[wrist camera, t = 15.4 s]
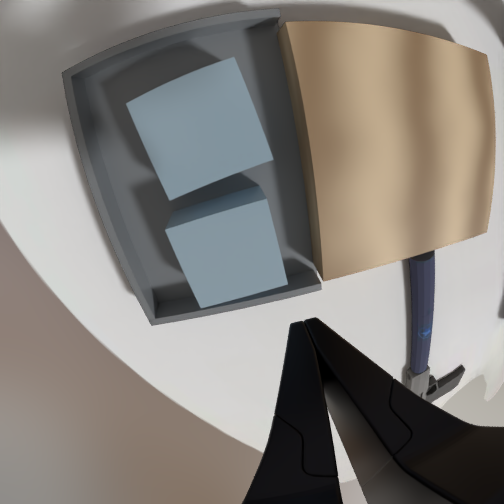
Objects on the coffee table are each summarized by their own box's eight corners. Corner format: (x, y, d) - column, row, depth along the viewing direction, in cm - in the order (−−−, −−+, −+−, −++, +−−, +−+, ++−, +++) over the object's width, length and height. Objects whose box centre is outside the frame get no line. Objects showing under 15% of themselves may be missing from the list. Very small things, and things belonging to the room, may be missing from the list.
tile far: (259, 185, 15) (266, 198, 12) (279, 261, 17) (287, 284, 15) (172, 212, 15) (164, 229, 13) (202, 283, 17) (200, 308, 15)
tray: (275, 20, 11) (282, 8, 9) (315, 271, 18) (324, 289, 17) (78, 75, 11) (61, 72, 9) (156, 306, 18) (151, 325, 16)
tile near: (231, 66, 11) (234, 56, 9) (264, 152, 14) (273, 159, 12) (141, 105, 12) (125, 103, 10) (177, 186, 14) (169, 200, 12)
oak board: (464, 55, 11) (486, 54, 9) (467, 219, 18) (486, 232, 16) (275, 35, 11) (285, 21, 9) (311, 260, 18) (323, 281, 16)
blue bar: (460, 385, 32) (405, 422, 33) (454, 377, 34) (399, 413, 35) (501, 209, 16) (411, 270, 17) (484, 200, 18) (395, 256, 19)
